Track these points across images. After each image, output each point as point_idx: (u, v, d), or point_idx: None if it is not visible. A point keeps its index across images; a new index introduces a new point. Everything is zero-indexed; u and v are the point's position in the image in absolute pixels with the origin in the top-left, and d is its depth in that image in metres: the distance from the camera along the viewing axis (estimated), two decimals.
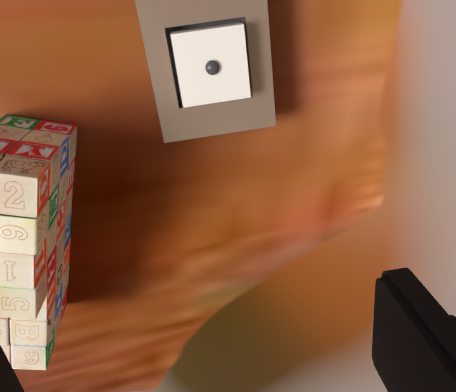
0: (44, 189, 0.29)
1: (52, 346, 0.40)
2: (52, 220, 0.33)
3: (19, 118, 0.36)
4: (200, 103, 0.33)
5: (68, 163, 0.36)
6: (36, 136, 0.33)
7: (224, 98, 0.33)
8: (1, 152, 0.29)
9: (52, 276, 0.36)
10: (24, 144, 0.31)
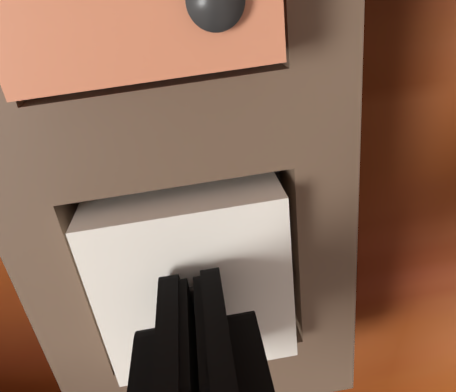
0: None
1: None
2: None
3: None
4: None
5: None
6: None
7: None
8: None
9: None
10: None
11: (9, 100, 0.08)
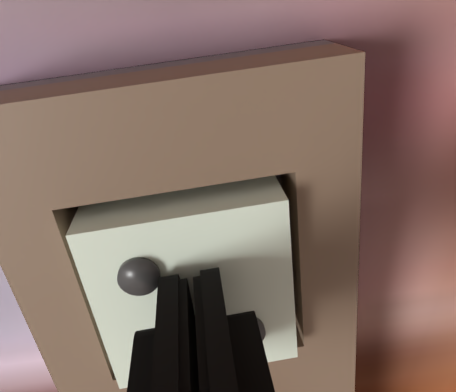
0: None
1: None
2: None
3: None
4: None
5: None
6: None
7: None
8: None
9: None
10: None
11: None
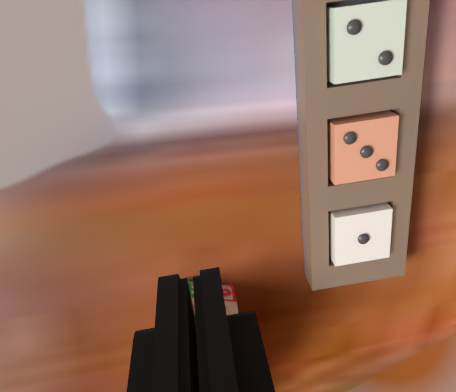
0: None
1: None
2: None
3: (190, 283, 0.44)
4: (349, 263, 0.41)
5: None
6: None
7: (368, 258, 0.41)
8: None
9: None
10: None
11: (335, 184, 0.37)
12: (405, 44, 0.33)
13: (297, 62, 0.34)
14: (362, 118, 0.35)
